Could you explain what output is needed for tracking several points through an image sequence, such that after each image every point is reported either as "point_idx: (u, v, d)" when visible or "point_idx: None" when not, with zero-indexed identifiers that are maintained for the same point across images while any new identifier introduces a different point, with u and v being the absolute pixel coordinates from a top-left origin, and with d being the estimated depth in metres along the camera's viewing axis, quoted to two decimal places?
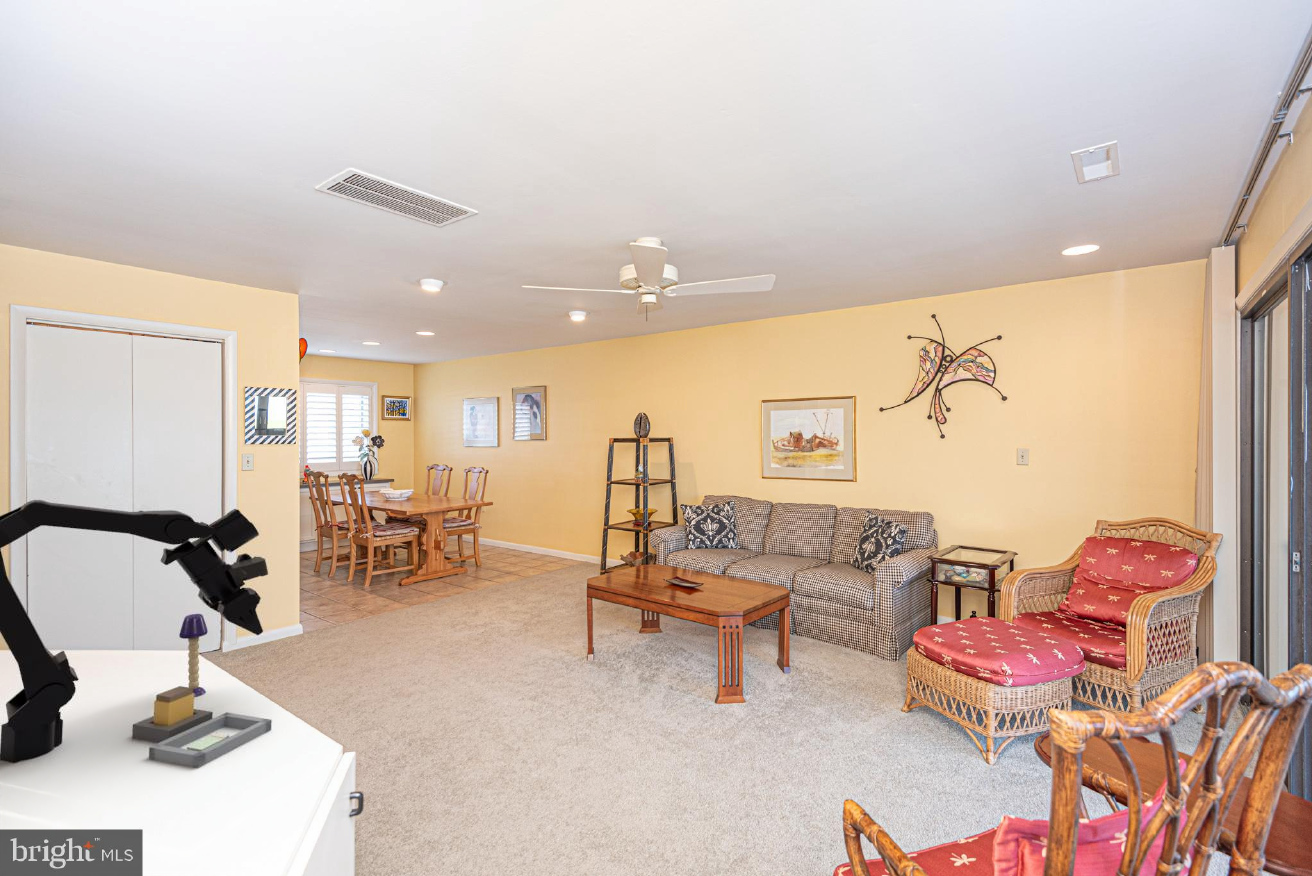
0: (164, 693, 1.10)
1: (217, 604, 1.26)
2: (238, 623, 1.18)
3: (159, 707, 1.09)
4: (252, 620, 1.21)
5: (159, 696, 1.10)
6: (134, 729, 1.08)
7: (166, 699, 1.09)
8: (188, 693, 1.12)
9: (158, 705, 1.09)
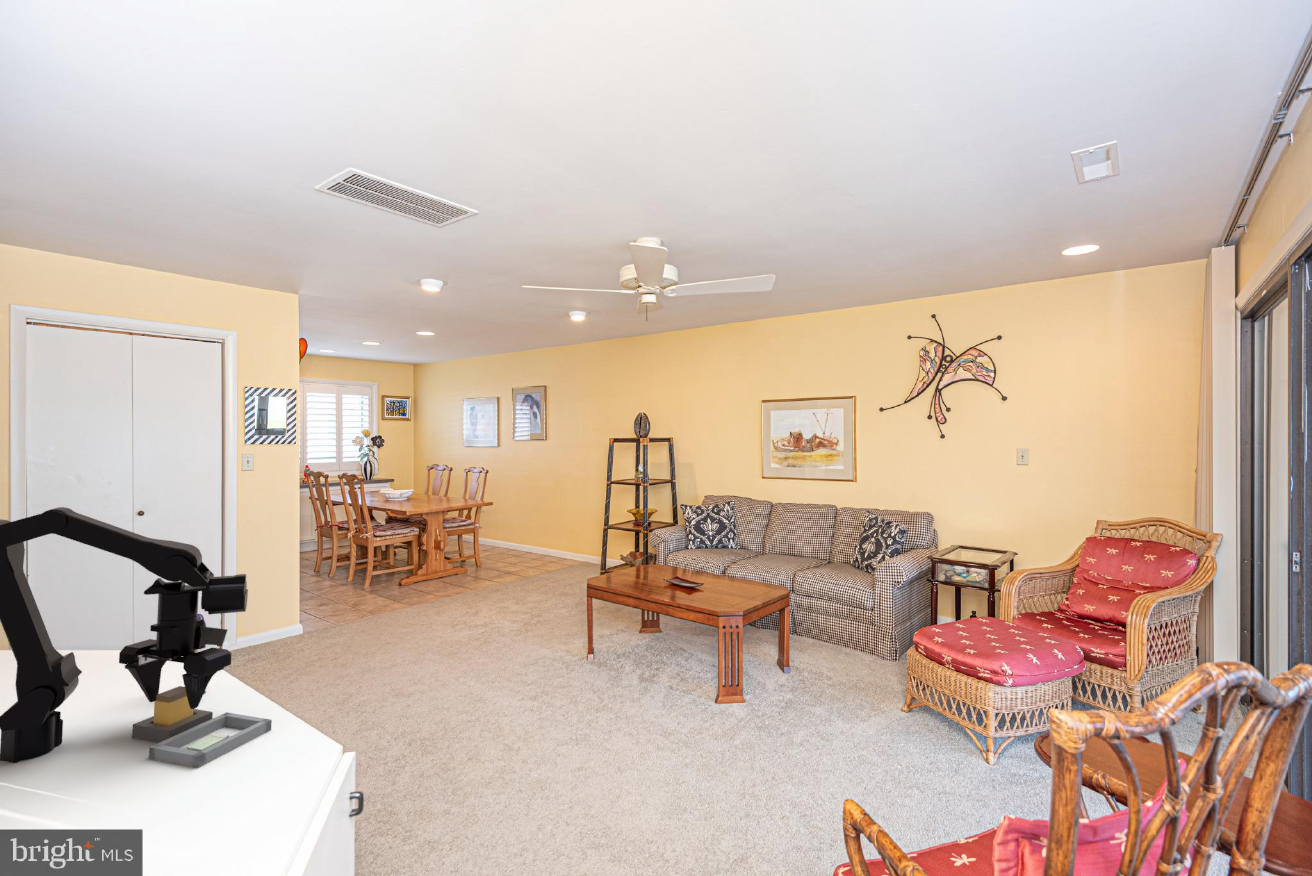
0: (164, 693, 1.10)
1: (142, 667, 1.11)
2: (192, 685, 1.08)
3: (159, 707, 1.09)
4: (201, 688, 1.10)
5: (159, 696, 1.10)
6: (134, 729, 1.08)
7: (166, 699, 1.09)
8: None
9: (158, 705, 1.09)
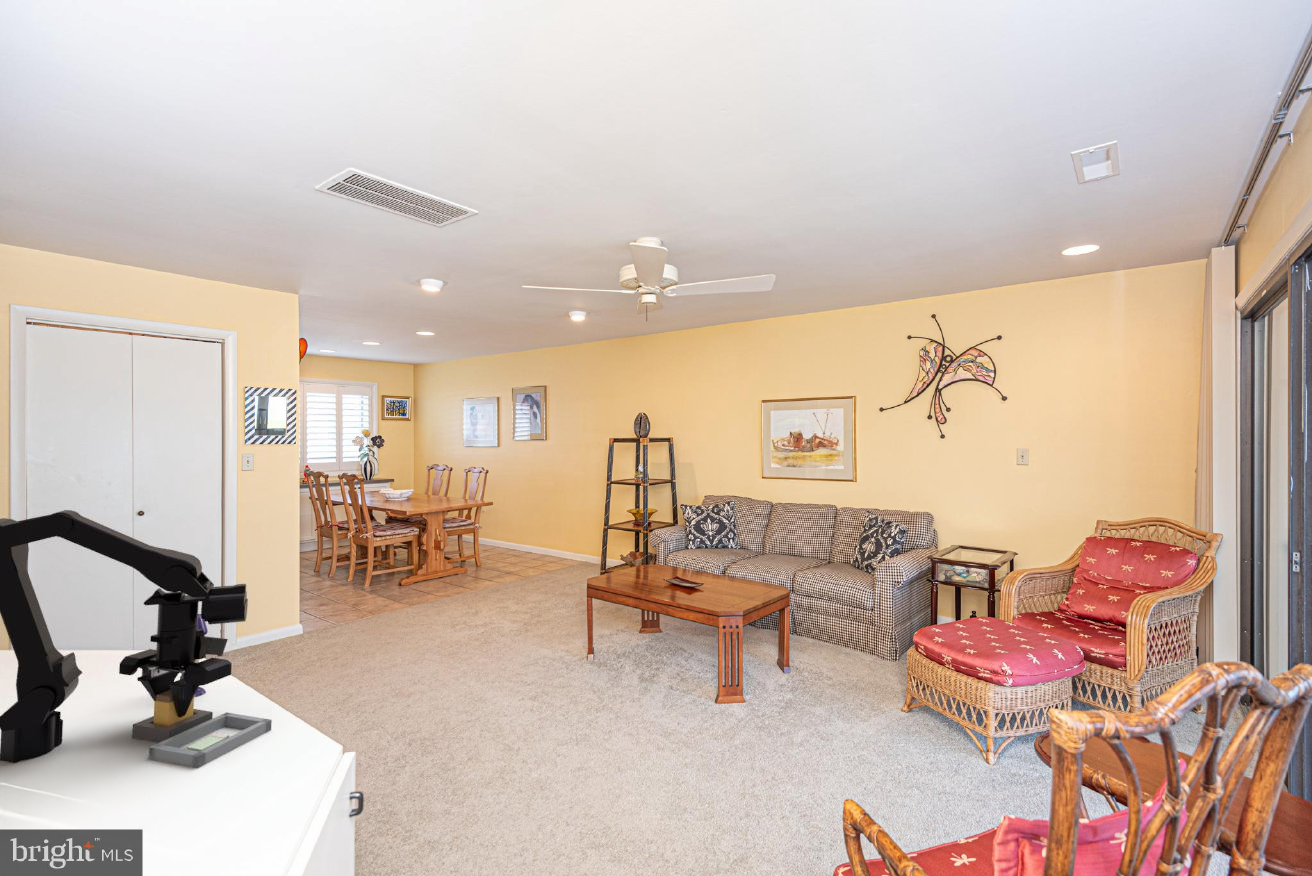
0: (164, 693, 1.10)
1: (155, 679, 1.10)
2: (180, 693, 1.09)
3: (159, 707, 1.09)
4: (188, 696, 1.11)
5: (159, 696, 1.10)
6: (134, 729, 1.08)
7: (166, 699, 1.09)
8: None
9: (158, 705, 1.09)
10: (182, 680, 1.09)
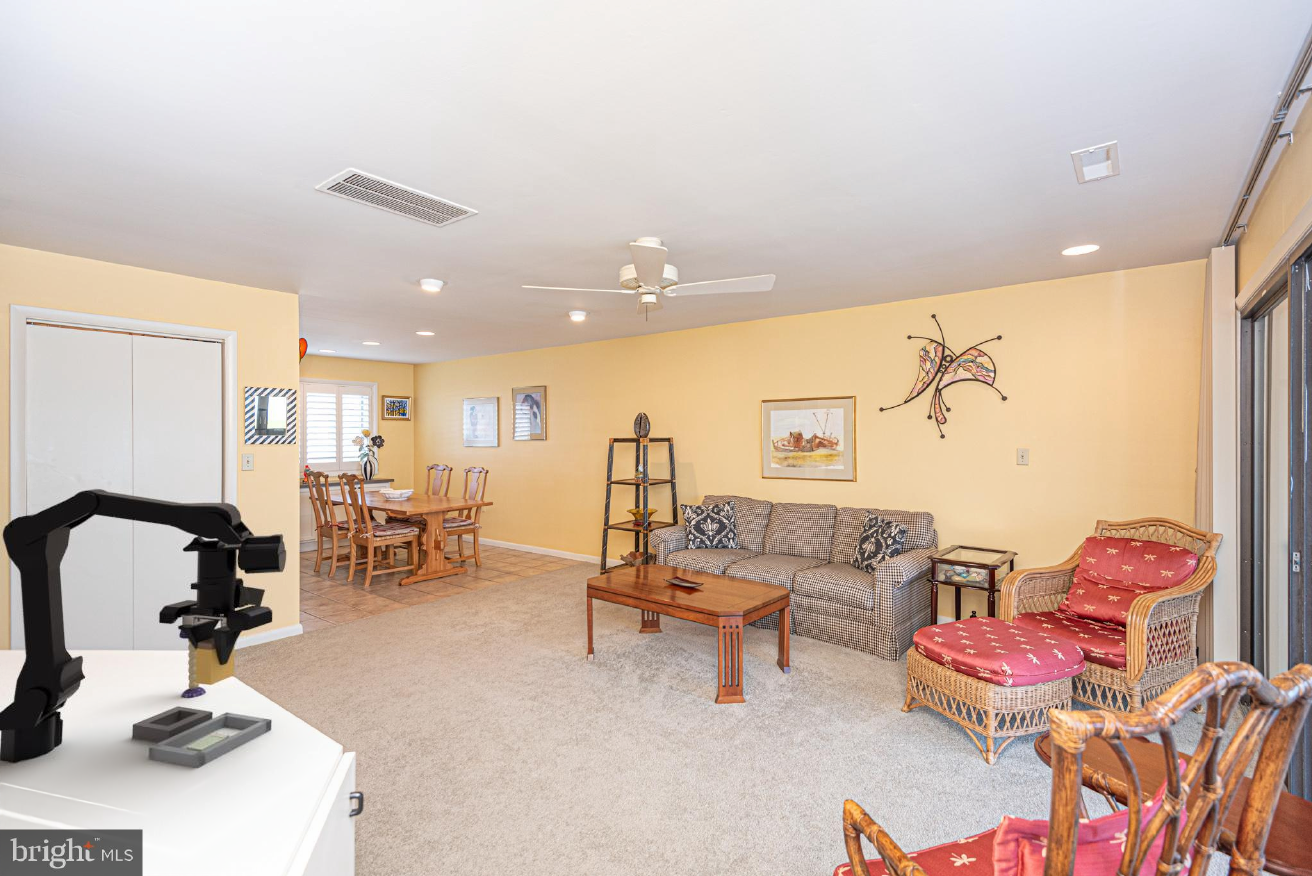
0: (205, 641, 1.10)
1: (196, 627, 1.10)
2: (222, 640, 1.08)
3: (201, 654, 1.09)
4: (230, 644, 1.10)
5: (201, 644, 1.09)
6: (134, 729, 1.08)
7: (208, 646, 1.09)
8: None
9: (200, 653, 1.09)
10: (224, 627, 1.09)
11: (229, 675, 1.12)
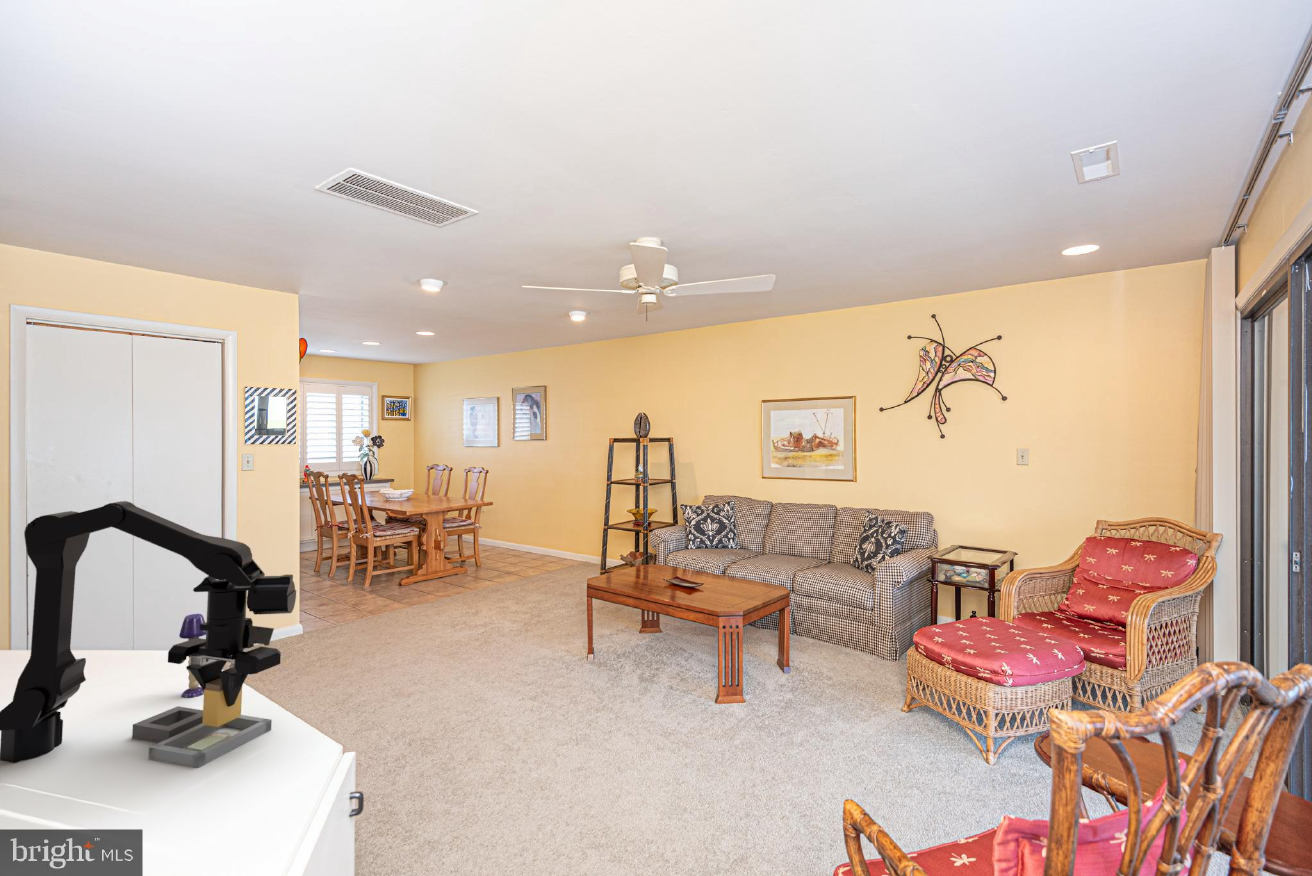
0: (213, 682, 1.09)
1: (204, 668, 1.09)
2: (230, 682, 1.08)
3: (209, 696, 1.08)
4: (237, 685, 1.10)
5: (209, 685, 1.08)
6: (134, 729, 1.08)
7: (216, 688, 1.08)
8: None
9: (207, 694, 1.08)
10: (232, 669, 1.08)
11: (236, 716, 1.11)
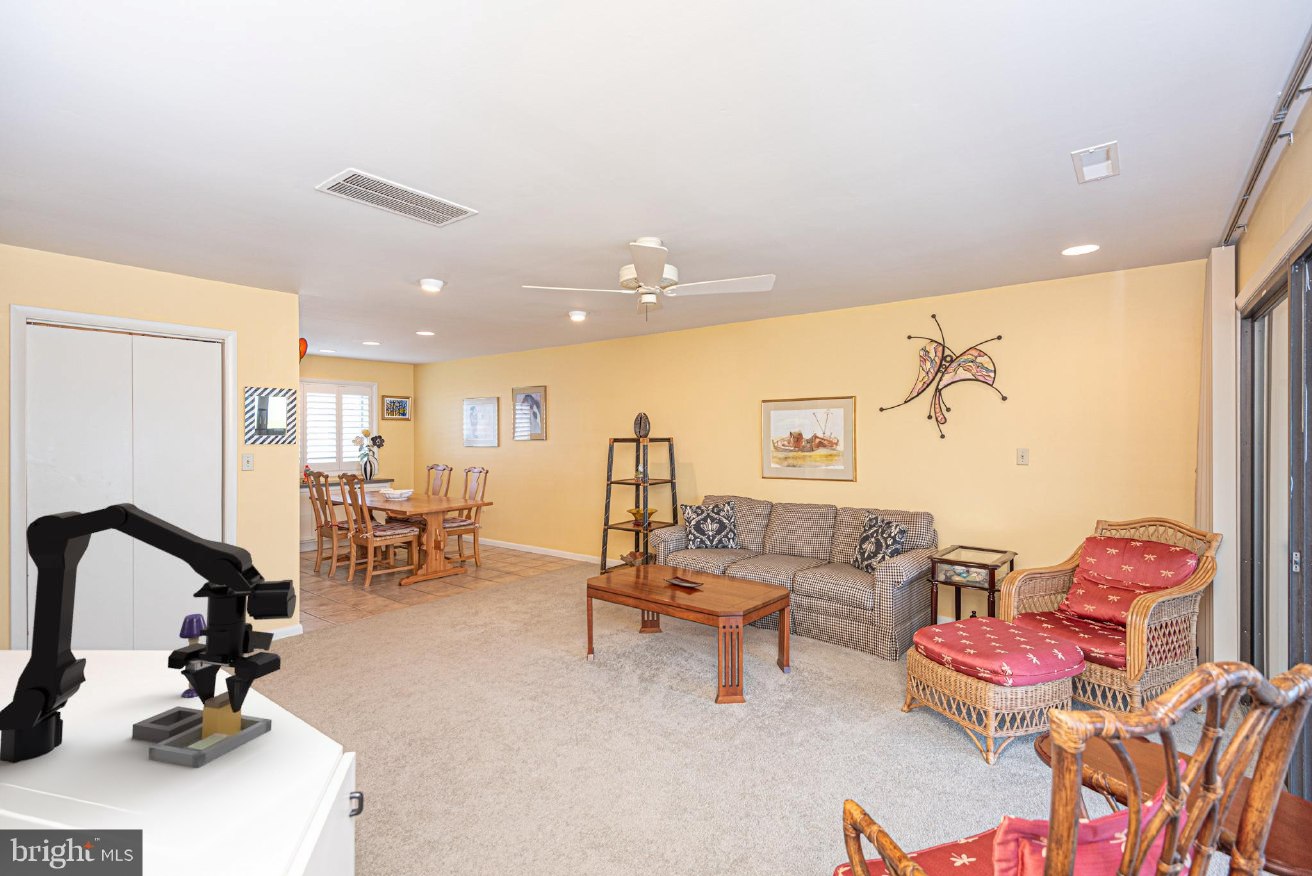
0: (213, 699, 1.09)
1: (199, 673, 1.09)
2: (235, 688, 1.07)
3: (208, 713, 1.08)
4: (243, 691, 1.09)
5: (208, 702, 1.08)
6: (134, 729, 1.08)
7: (215, 705, 1.08)
8: None
9: (207, 711, 1.08)
10: None
11: (235, 733, 1.11)
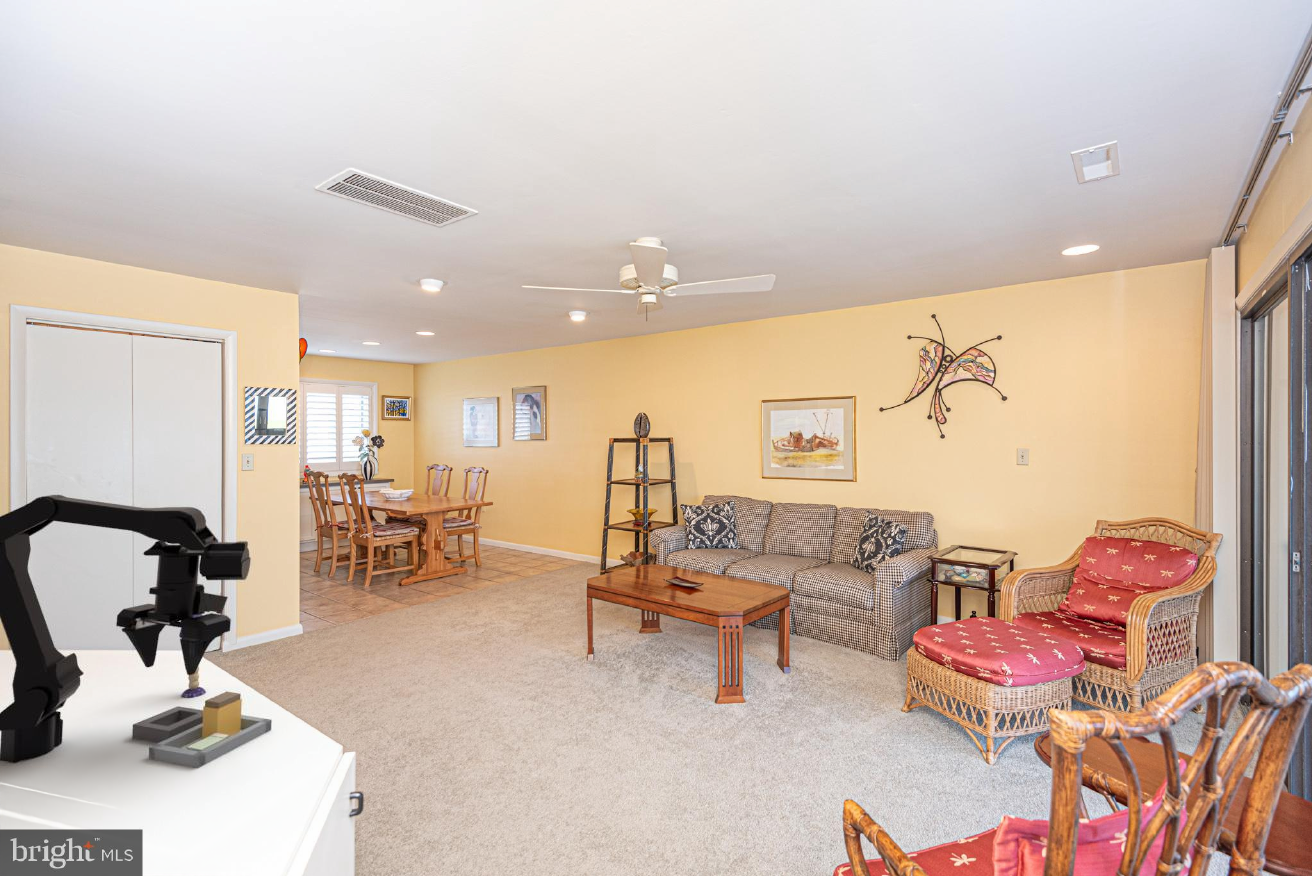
0: (213, 699, 1.09)
1: (140, 631, 1.09)
2: (190, 650, 1.06)
3: (208, 713, 1.08)
4: (199, 653, 1.08)
5: (208, 702, 1.08)
6: (134, 729, 1.08)
7: (215, 705, 1.08)
8: (236, 699, 1.11)
9: (207, 711, 1.08)
10: None
11: (235, 733, 1.11)
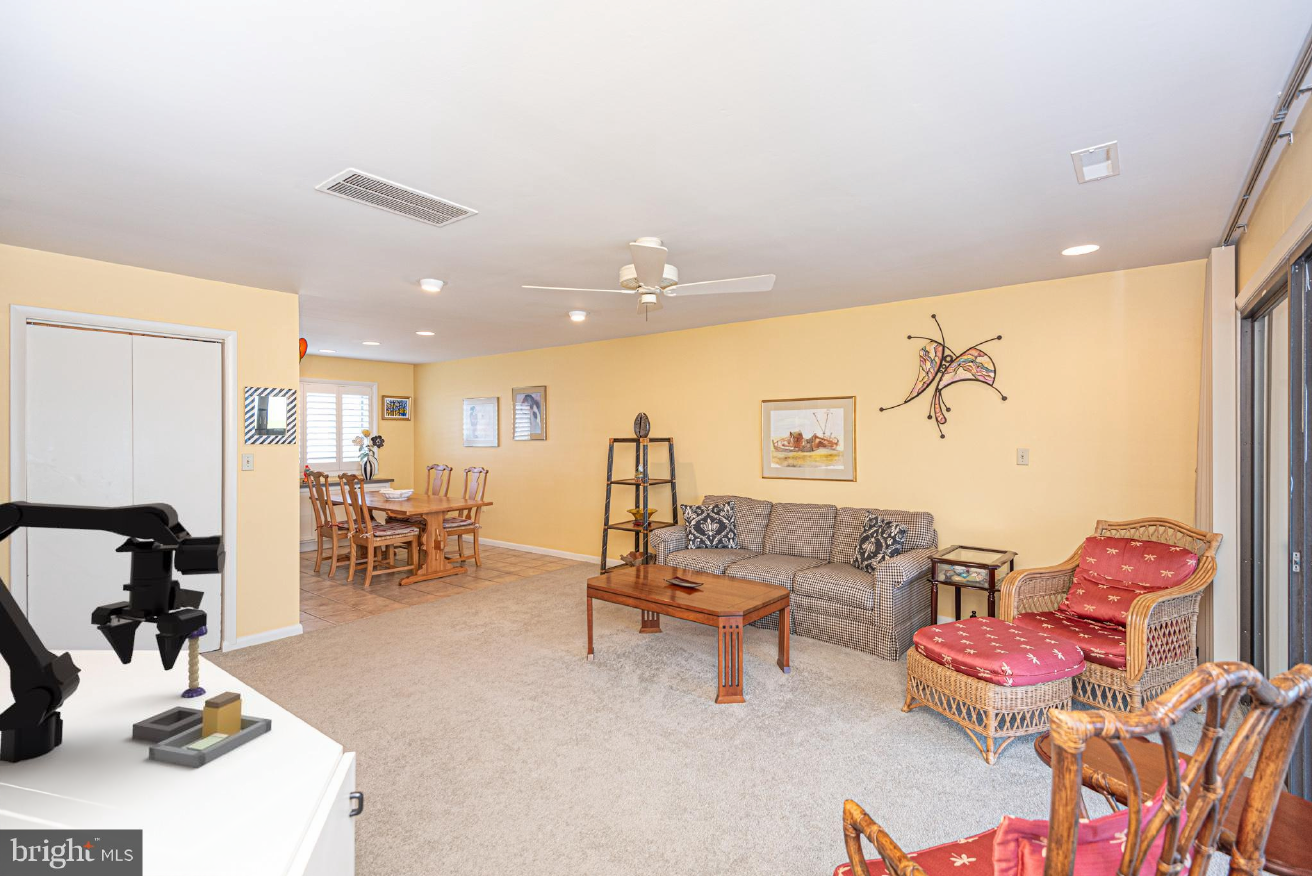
0: (213, 699, 1.09)
1: (115, 628, 1.08)
2: (166, 645, 1.05)
3: (208, 713, 1.08)
4: (175, 649, 1.07)
5: (208, 702, 1.08)
6: (134, 729, 1.08)
7: (215, 705, 1.08)
8: (236, 699, 1.11)
9: (207, 711, 1.08)
10: None
11: (235, 733, 1.11)
